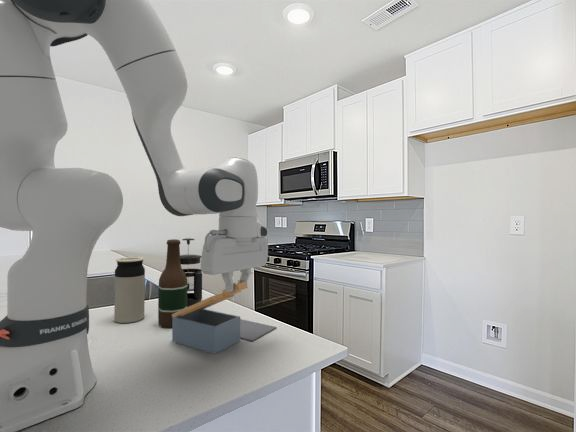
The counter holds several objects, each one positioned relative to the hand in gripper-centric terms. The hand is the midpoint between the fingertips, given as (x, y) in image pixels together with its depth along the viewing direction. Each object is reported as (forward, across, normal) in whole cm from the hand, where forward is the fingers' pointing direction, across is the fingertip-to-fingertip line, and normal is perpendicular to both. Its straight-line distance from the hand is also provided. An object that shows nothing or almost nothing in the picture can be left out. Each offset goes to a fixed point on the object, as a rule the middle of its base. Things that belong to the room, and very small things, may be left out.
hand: (236, 289), depth 74 cm
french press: (+13, +20, +36) cm, 44 cm away
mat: (+14, +12, +7) cm, 19 cm away
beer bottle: (+14, +5, +27) cm, 31 cm away
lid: (+4, 0, +7) cm, 8 cm away
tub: (+14, +1, +10) cm, 17 cm away
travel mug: (+14, +1, +41) cm, 43 cm away
